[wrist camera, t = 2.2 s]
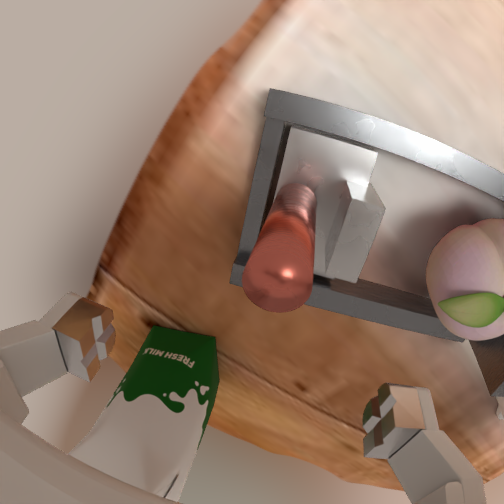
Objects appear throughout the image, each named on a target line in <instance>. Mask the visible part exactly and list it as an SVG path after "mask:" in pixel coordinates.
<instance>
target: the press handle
mask: <svg viewBox="0 0 504 504" xmlns="http://www.w3.org/2000/svg"><path fill="white" fill-rule="evenodd" d="M377 155H378V152H377V151H375V150H374V149H373V148H370V147H367V146H363V145H360V144H357V143H354V142H351V141H348V140H344V139H341V138H338V137H334V136H331V135H327V134H324V133H320V132H317V131H313V130H309V129H305V128H302V127H298V126H294V125H293V126H292V127H291V130H290V134H289V138H288V142H287V146H286V151H285V155H284V159H283V163H282V167H281V172H280V176H279V180H278V184H277V188H276V192H275V197H274V201H273V205H272V207H271V209H270V211H269V214H268V216H267V218H266V221H265V223H264V225H263V228H262V230H261V232H260V234H259V237H258V239H257V241H256V244H255V246H254V248H253V250H252V253H251V255H250V257H249V260H248V262H247V264H246V266H245V269H244V271H243V274H242V285H243V289H244V291H245V293H246V295H247V297H248V298H249V299H250V300H251V301H252V302H253V303H254V304H256V305H257V306H259V307H260V308H262V309H264V310H267V311H271V312H289V311H292V310H295V309H297V308H299V307H300V306H302V305H303V304H304V303H305V302H306V301H307V300H308V298H309V297H310V295H311V292H312V287H313V274H316V275H320V276H323V277H327V278H331V279H335V278H338V279H342V280H346V281H349V282H353V283H356V282H357V280H358V277H359V275H360V273H361V270H362V268H363V265H364V263H365V261H366V258H367V256H368V253H369V251H370V248H371V246H372V243H373V241H374V238H375V236H376V233H377V230H378V228H379V225H380V223H381V220H382V217H383V215H384V212H385V209H386V208H385V207H384V205H383V203H382V201H381V200H380V198H379V196H378V194H377V193H376V191H375V189H374V188H373V186H372V184H371V183H370V182H369V181H370V178H371V175H372V172H373V168H374V165H375V162H376V159H377Z"/></svg>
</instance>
